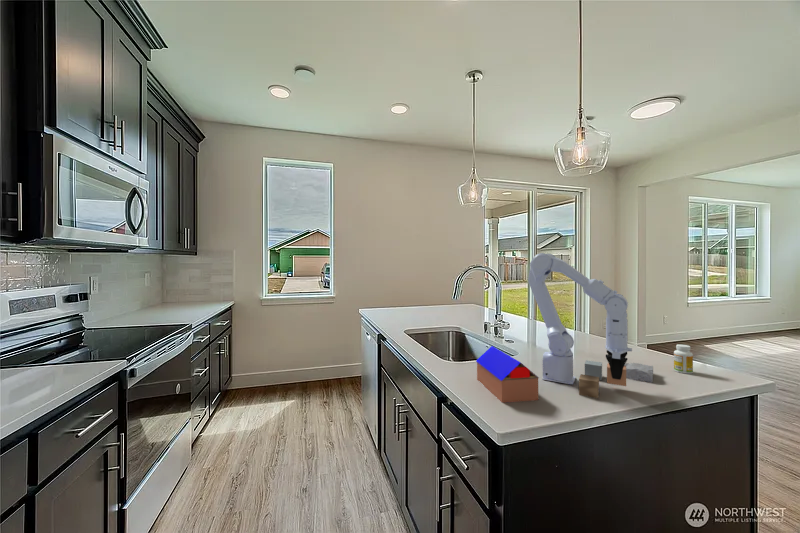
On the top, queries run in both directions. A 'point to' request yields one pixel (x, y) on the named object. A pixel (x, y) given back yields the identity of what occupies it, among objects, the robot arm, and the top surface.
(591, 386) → the walnut block
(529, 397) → the house
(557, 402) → the top surface
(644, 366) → the stone block
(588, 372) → the slate block
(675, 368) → the supplement bottle
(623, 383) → the terracotta block
